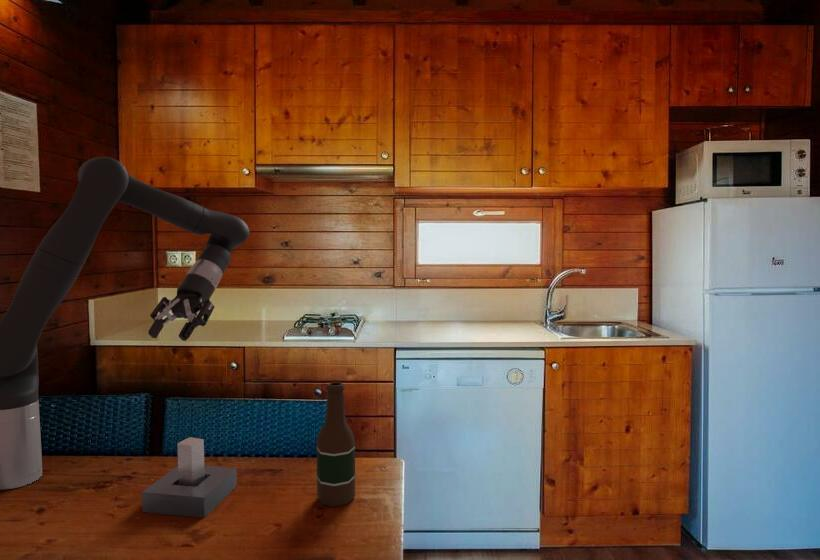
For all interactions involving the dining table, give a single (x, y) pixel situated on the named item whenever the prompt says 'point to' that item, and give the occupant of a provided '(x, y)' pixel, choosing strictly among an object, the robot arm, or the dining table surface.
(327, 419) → the beer bottle
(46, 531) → the dining table surface
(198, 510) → the collar block
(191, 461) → the white rectangular block
